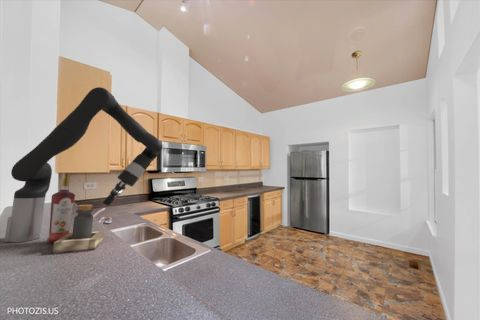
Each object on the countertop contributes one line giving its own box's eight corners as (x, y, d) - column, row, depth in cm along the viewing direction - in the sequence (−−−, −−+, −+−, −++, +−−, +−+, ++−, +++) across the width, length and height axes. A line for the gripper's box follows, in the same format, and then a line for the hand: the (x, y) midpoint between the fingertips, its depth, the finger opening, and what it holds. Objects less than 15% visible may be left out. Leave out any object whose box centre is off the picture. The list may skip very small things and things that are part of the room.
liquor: (48, 246, 74) (57, 172, 77) (43, 242, 78) (52, 172, 81) (72, 241, 80) (80, 173, 83) (66, 238, 84) (74, 173, 87)
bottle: (94, 243, 77) (97, 204, 79) (77, 247, 72) (82, 206, 73) (84, 241, 79) (88, 203, 80) (67, 245, 73) (71, 205, 75)
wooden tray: (52, 253, 67) (54, 242, 67) (67, 243, 78) (68, 233, 78) (94, 249, 72) (95, 239, 72) (102, 240, 83) (103, 231, 83)
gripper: (124, 171, 95) (98, 200, 87) (124, 166, 83) (95, 199, 76) (137, 180, 97) (114, 209, 90) (140, 176, 86) (113, 209, 78)
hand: (105, 204), depth 83 cm, fingers open, 8 cm apart
